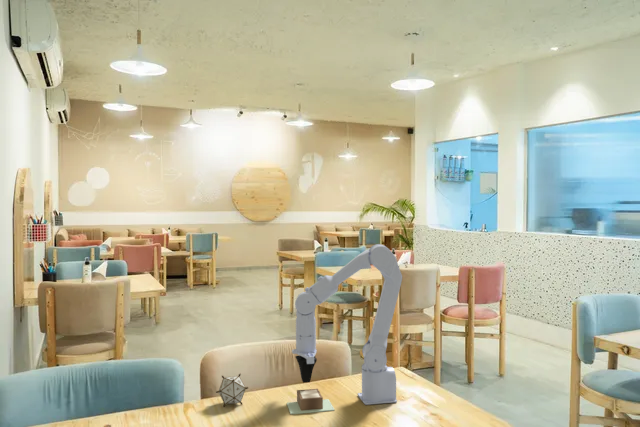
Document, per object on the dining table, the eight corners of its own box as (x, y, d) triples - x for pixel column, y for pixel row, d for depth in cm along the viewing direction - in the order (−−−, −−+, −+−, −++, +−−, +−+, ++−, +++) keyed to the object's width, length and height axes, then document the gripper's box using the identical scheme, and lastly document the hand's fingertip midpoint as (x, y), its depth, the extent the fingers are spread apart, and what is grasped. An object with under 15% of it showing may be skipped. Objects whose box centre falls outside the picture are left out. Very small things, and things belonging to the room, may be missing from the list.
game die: (236, 419, 138) (239, 398, 132) (209, 406, 140) (211, 385, 134) (251, 394, 145) (254, 373, 140) (225, 382, 147) (228, 360, 141)
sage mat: (328, 400, 142) (328, 399, 142) (334, 410, 135) (334, 409, 135) (286, 403, 140) (286, 402, 140) (290, 414, 132) (290, 413, 132)
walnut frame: (317, 388, 142) (322, 397, 135) (317, 399, 142) (322, 408, 135) (296, 390, 141) (300, 399, 134) (297, 400, 141) (300, 410, 134)
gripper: (288, 329, 149) (288, 374, 150) (296, 341, 135) (296, 391, 135) (311, 327, 151) (311, 372, 151) (321, 340, 137) (321, 389, 137)
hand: (306, 381), depth 143 cm, fingers closed
